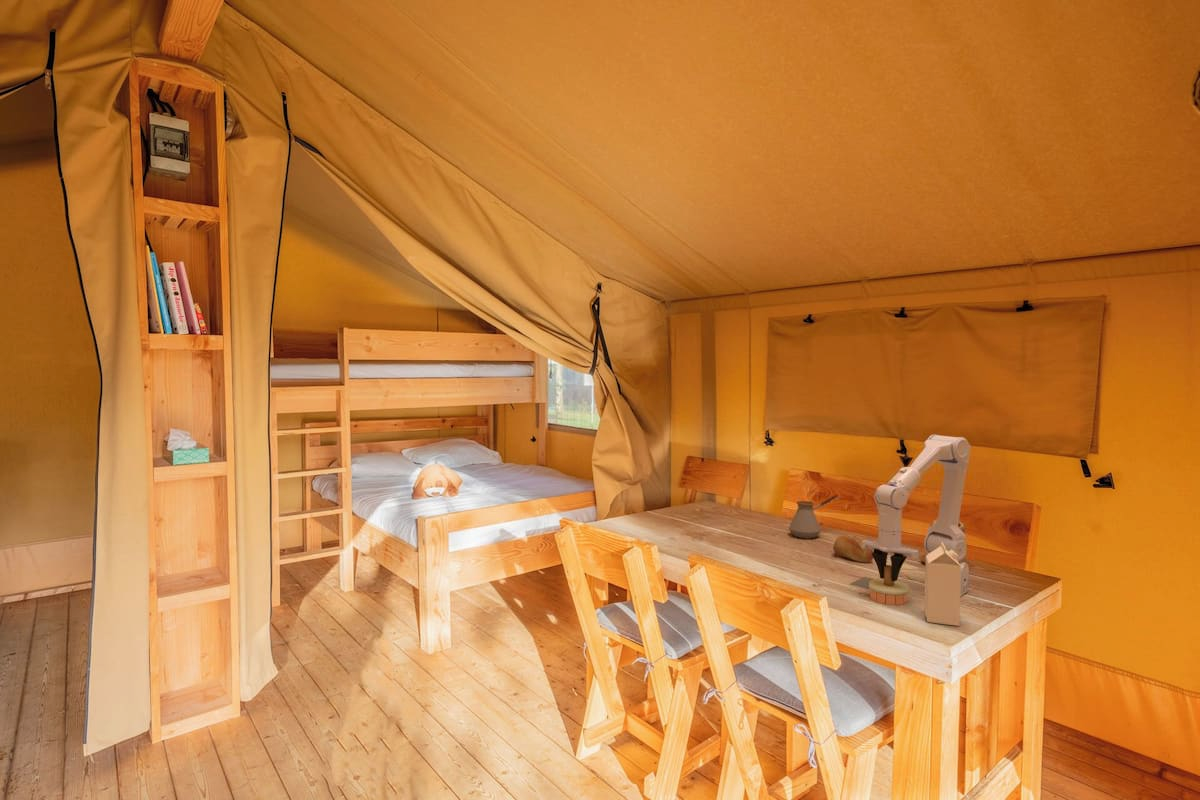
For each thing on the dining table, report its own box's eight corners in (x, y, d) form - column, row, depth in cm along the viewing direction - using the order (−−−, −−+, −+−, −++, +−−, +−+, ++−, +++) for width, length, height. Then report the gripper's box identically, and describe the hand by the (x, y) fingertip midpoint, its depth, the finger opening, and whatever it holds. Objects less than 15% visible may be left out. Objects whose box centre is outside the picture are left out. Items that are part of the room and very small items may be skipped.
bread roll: (858, 567, 209) (858, 542, 209) (825, 555, 223) (825, 531, 223) (880, 563, 213) (881, 539, 213) (846, 552, 227) (847, 529, 227)
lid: (913, 586, 179) (914, 565, 179) (902, 597, 172) (903, 575, 171) (875, 579, 186) (876, 558, 185) (863, 589, 178) (863, 567, 178)
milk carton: (927, 622, 163) (929, 547, 162) (924, 612, 170) (926, 540, 169) (959, 626, 161) (961, 550, 160) (955, 616, 167) (957, 542, 166)
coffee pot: (801, 541, 240) (802, 500, 240) (782, 534, 251) (783, 495, 250) (848, 536, 248) (849, 497, 247) (828, 529, 258) (829, 491, 258)
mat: (898, 586, 191) (898, 584, 191) (883, 594, 184) (883, 592, 184) (864, 578, 198) (864, 576, 198) (849, 585, 191) (849, 584, 191)
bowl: (912, 600, 179) (912, 589, 178) (898, 609, 172) (898, 597, 172) (878, 592, 185) (878, 581, 185) (863, 600, 179) (864, 589, 179)
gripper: (857, 527, 180) (856, 576, 181) (911, 537, 170) (910, 588, 170) (868, 523, 185) (867, 570, 186) (922, 532, 175) (920, 582, 175)
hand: (888, 579), depth 178 cm, fingers closed on lid, 2 cm apart
